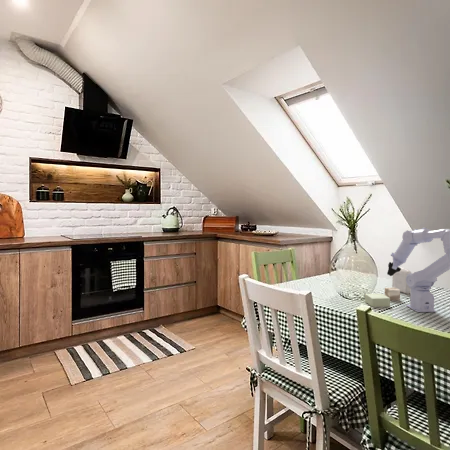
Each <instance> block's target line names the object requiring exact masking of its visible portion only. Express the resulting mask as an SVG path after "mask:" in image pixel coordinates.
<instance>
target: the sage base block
mask: <svg viewBox="0 0 450 450" xmlns="http://www.w3.org/2000/svg"><path fill="white" fill-rule="evenodd" d="M364 302H365V303H366V304H367V303H368V304H367V305H368V306H370V307H372V308H373V307H375V308H377V307H379V308H380V307H391V300H390V298H389V297H387V296H385V294H383V293H365V294H364Z"/></svg>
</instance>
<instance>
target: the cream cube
mask: <svg viewBox="0 0 450 450" xmlns="http://www.w3.org/2000/svg"><path fill="white" fill-rule="evenodd" d="M384 295H385V296H387V297H389V298H390V301H401V292H400V290H399V289H397V288H392V287H384Z"/></svg>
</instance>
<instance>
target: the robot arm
mask: <svg viewBox="0 0 450 450" xmlns="http://www.w3.org/2000/svg"><path fill="white" fill-rule="evenodd" d="M434 239H440V241H442V245H443V246H442V247H443V251H444V253H445V254H444V255H442V256H441V257H439V258H438V259H437V260H435V261H434V262H432V263H430V264H429V265H428V266H426V267H425V268H423V269H422V270H418V271H414V272H411V273H410V274H408V275H407V277H406V282H407V285H408V286H409V288H411V293H409V294H410V298H409V299H410V301H409V303H410V304H405V306H406V307H408V308H409V309H411V310H413V311H415V312H416V313H436V312H437V311H436V309H435V297H434V294H433V293H432V292H431V291H430V290H431V289H432V287H434V284H435V283H436V282H437V281H438V277H440V276H441V275H443V274H445V273H446V272H448V271H449V270H450V228H441V229H437V230H432V229H430V228H427V227H422V228H420V229H418V228H414V229H413V230H405V231H404V232H403V233H402V241H401V242H400V243H399V246H398V247H397V249H396V250H395V252H391V253H390V256H391V257H392V262H391V261H389V263H388V270H387V276H390V277H393V275H394V274H395V273H396V272H399V271H400V270H401V268H402V267H401V266H402V265H403V264H405V263H406V262H407V260H408V258H409V257H410V254H411V253H412V252H413V250H414V249H415V247H416V246H418V245H419V244H424V243H430V242H433V240H434ZM399 267H401V268H399Z"/></svg>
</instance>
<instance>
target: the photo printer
mask: <svg viewBox="0 0 450 450" xmlns="http://www.w3.org/2000/svg"><path fill="white" fill-rule="evenodd" d="M398 267H399V268H401V270H400V271H399V272H396V273H395V274H394V275H392V279H391V280H392V282H391V288H397V289H399V290H400V293H404V294H411V288H409V286H408V285H407V282H406V277H407V275H408V274H410V273H412V271H410V270H409V269H407V268H405V267H402V266H398Z"/></svg>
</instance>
